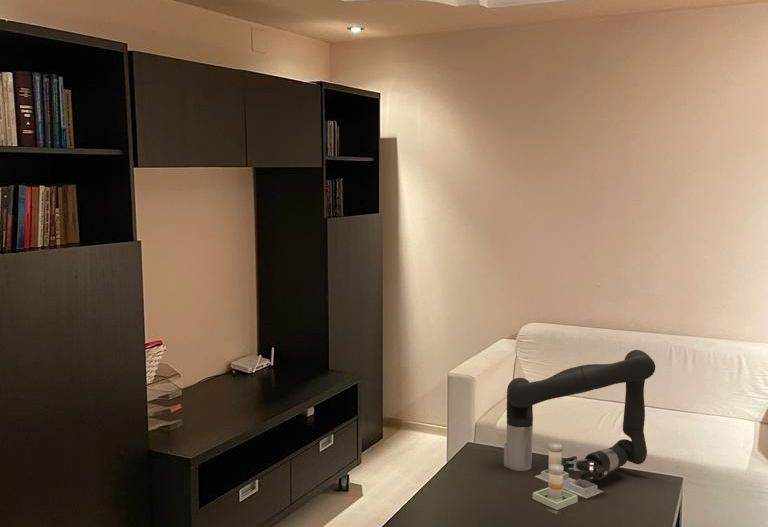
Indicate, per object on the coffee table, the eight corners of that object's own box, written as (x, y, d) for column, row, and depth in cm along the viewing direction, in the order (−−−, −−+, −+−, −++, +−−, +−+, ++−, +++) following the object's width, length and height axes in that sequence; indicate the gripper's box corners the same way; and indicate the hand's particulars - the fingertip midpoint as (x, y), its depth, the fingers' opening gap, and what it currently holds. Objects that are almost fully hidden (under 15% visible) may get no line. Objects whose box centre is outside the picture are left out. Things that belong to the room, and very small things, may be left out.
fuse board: (534, 480, 253) (535, 470, 252) (551, 474, 258) (552, 465, 258) (586, 502, 235) (586, 492, 235) (603, 495, 240) (603, 485, 240)
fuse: (546, 478, 250) (546, 445, 249) (550, 474, 254) (551, 441, 253) (559, 481, 248) (560, 447, 247) (563, 477, 252) (564, 443, 251)
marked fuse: (545, 503, 233) (547, 467, 231) (549, 497, 237) (551, 462, 235) (560, 506, 230) (561, 470, 229) (563, 501, 234) (565, 465, 233)
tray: (532, 503, 235) (532, 492, 234) (553, 495, 240) (553, 485, 240) (556, 514, 227) (557, 503, 226) (577, 506, 232) (577, 495, 232)
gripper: (585, 445, 252) (554, 455, 242) (620, 457, 240) (588, 468, 231) (584, 465, 253) (553, 476, 243) (619, 479, 241) (588, 491, 232)
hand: (570, 472), depth 237 cm, fingers open, 8 cm apart
